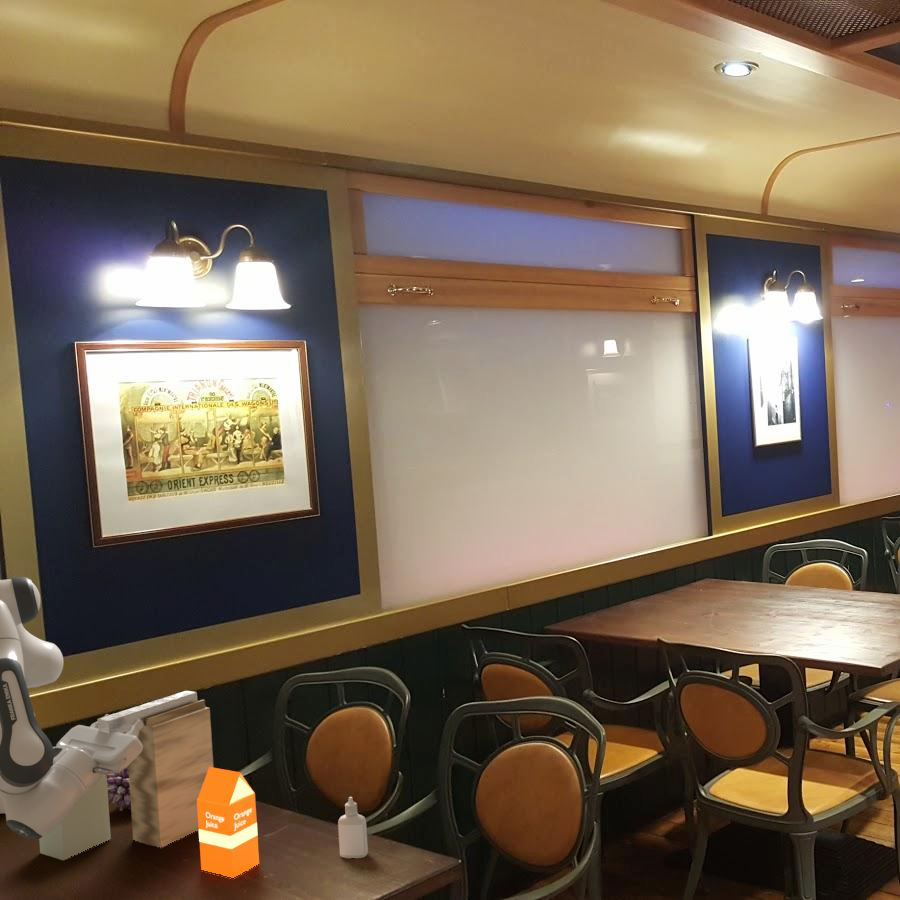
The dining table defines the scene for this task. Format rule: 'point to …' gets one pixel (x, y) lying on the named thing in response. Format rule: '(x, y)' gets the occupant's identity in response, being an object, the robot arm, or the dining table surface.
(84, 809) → the sage block
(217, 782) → the orange juice
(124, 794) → the flower
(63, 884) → the dining table surface
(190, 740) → the oak stand
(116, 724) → the steel bar
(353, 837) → the eye dropper bottle
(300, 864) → the dining table surface
